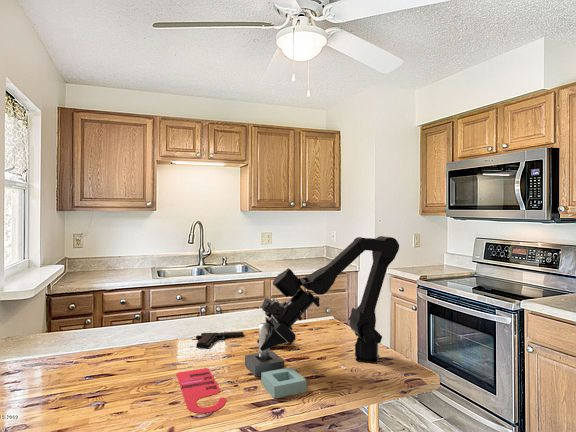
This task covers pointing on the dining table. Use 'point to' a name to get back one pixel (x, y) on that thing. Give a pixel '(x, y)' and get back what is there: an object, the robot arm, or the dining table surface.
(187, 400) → the door hanger
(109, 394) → the dining table surface
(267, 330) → the steel pin
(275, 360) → the socket block
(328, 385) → the dining table surface
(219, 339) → the handgun
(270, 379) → the block
